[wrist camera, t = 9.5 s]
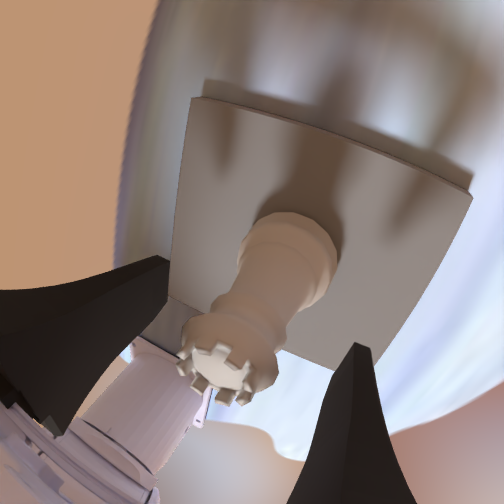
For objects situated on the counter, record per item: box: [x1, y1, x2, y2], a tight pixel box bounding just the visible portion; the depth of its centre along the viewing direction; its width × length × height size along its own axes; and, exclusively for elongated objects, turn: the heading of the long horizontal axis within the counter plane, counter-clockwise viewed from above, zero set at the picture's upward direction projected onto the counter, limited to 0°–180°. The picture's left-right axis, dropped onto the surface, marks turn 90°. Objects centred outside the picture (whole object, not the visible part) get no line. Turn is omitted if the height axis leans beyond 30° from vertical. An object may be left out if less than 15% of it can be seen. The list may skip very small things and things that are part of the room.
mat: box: [168, 97, 473, 371], centre depth 16 cm, size 12×13×1 cm
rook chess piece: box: [175, 212, 337, 406], centre depth 12 cm, size 4×4×8 cm
